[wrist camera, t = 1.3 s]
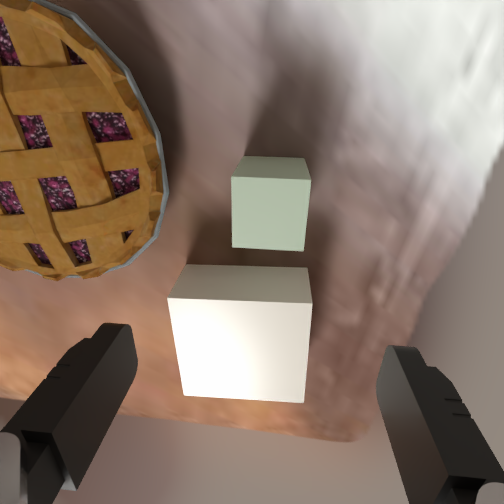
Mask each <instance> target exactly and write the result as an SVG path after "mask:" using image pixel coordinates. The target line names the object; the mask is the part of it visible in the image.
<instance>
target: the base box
mask: <svg viewBox="0 0 504 504" xmlns="http://www.w3.org/2000/svg"><path fill="white" fill-rule="evenodd" d="M167 299H168V305H169V311H170V317H171V322H172V328H173V334H174V340H175V346H176V352H177V358H178V363H179V369H180V375H181V381H182V387H183V393H184V395H188V396H203V397H219V398H234V399H250V400H265V401H281V402H297V403H304V393H305V382H306V371H307V360H308V349H309V337H310V326H311V315H312V304H313V303H312V296H311V289H310V282H309V275H308V268H300V267H265V266H230V265H195V264H186V265H185V267H184V269H183V270H182V272H181V274H180V276H179V278H178V280H177V281H176V283H175V285H174V287H173V289H172V290H171V292H170V294H169V296H168V298H167Z"/></svg>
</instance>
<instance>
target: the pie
mask: <svg viewBox="0 0 504 504" xmlns="http://www.w3.org/2000/svg"><path fill="white" fill-rule="evenodd" d="M168 195H169V187H168V180H167V174H166V167H165V161H164V154H163V148H162V141H161V134H160V132H159V130H158V127H157V125H156V123H155V121H154V119H153V117H152V115H151V113H150V111H149V109H148V107H147V105H146V103H145V101H144V99H143V97H142V95H141V92H140V90H139V88H138V86H137V84H136V82H135V80H134V78H133V76H132V74H131V72H130V70H129V68H128V67H127V66H126V65H125V64H124V63H123V62H122V61H121V60H120V59H119V58H118V57H117V56H116V55H115V54H114V53H113V52H112V51H111V49H110V48H109V47H108V46H107V45H106V44H105V43H104V42H103V41H102V40H101V39H100V38H99V37H98V36H97V35H96V34H95V33H94V32H93V31H92V30H91V28H90V27H89V26H88V25H87V24H86V23H85V22H84V21H83V20H82V19H81V18H80V17H79V16H78V15H77V14H76V13H74V12H72V11H69V10H67V9H65V8H62V7H60V6H57V5H55V4H53V3H50V2H48V1H46V0H0V266H2V267H4V268H7V269H9V270H12V271H17V270H26V271H29V272H32V273H35V274H38V275H41V276H43V278H45V279H50V280H54V281H59V280H61V279H63V278H65V277H71V278H83V279H87V278H93V277H98V276H100V275H102V274H104V273H107V272H110V271H113V270H116V269H119V268H122V267H125V266H128V265H130V264H131V263H132V262H133V261H134V260H135V259H136V258H137V257H138V256H139V255H140V254H141V253H142V252H143V251H144V250H145V249H146V248H147V247H148V246H149V245H150V244H151V243H152V242H153V241H154V240H155V239H156V238H157V237H158V235H159V231H160V227H161V223H162V219H163V215H164V211H165V207H166V203H167V199H168Z"/></svg>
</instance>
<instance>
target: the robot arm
mask: <svg viewBox="0 0 504 504" xmlns="http://www.w3.org/2000/svg"><path fill="white" fill-rule="evenodd" d="M137 366H138V359H137V354H136V349H135V344H134V338H133V333H132V329H131V326H130V325H128V324H117V323H103V324H102V325H101V326H100V327H99V328H98V330H97V331H96V332H95V334H94V335H93V336H92V338H84V339H83V340H81V341H80V342H78V343H77V344H76V345H74V346H73V347H71V348H70V349H69V350H68V351H67V352H66V353H65V354H64V356H63V357H62V358H61V359H60V360H59V362H58V363H57V366H56V367H54V368H53V369H52V370H51V371H50V373H49V374H48V375H47V378H46V379H44V380H43V381H42V382H41V383H40V385H39V386H38V387H37V388H36V389H35V391H34V392H33V393H32V394H31V395H30V397H29V398H28V399H27V400H26V402H25V403H24V404H23V405H22V406H21V408H20V409H19V410H18V411H17V412H16V414H15V415H14V416H13V417H12V419H11V420H10V421H9V422H8V423H7V425H6V426H5V427H4V428H3V429H2V430H1V431H0V504H52V503H53V501H54V500H55V498H56V496H57V494H58V492H59V490H60V489H65V490H74V491H76V490H77V489H78V487H79V485H80V483H81V481H82V479H83V477H84V475H85V473H86V471H87V469H88V468H89V465H90V464H91V462H92V460H93V458H94V456H95V454H96V452H97V450H98V448H99V446H100V444H101V442H102V440H103V438H104V436H105V435H106V433H107V431H108V429H109V427H110V425H111V423H112V421H113V419H114V417H115V415H116V413H117V411H118V409H119V407H120V405H121V403H122V401H123V400H124V398H125V396H126V394H127V392H128V390H129V388H130V386H131V384H132V382H133V380H134V378H135V375H136V371H137ZM376 394H377V400H378V404H379V407H380V410H381V413H382V417H383V420H384V423H385V427H386V430H387V433H388V436H389V440H390V443H391V446H392V449H393V452H394V456H395V459H396V462H397V465H398V469H399V472H400V475H401V478H402V482H403V485H404V488H405V491H406V495H407V498H408V501H409V504H504V471H503V469H502V468H501V466H500V464H499V462H498V461H497V459H496V457H495V456H494V454H493V452H492V450H491V449H490V447H489V445H488V444H487V442H486V440H485V438H484V437H483V435H482V433H481V431H480V430H479V428H478V426H477V425H476V423H475V421H474V420H473V419H471V414H470V413H469V411H468V409H467V407H466V406H465V404H464V403H462V399H461V397H460V396H459V394H458V392H457V390H456V389H455V387H454V385H453V384H452V382H451V381H450V380H449V379H448V378H447V377H446V376H445V375H444V374H443V373H442V372H440V371H439V370H438V369H437V368H436V367H428V366H427V365H426V363H425V361H424V359H423V358H422V356H421V354H420V352H419V351H418V349H417V348H415V347H407V346H394V345H389V346H387V348H386V350H385V354H384V357H383V361H382V364H381V367H380V371H379V374H378V378H377V382H376Z"/></svg>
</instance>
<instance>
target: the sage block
mask: <svg viewBox="0 0 504 504" xmlns="http://www.w3.org/2000/svg"><path fill="white" fill-rule="evenodd" d="M231 185H232V247H235V248H253V249H270V250H288V251H304V243H305V234H306V224H307V215H308V206H309V197H310V187H311V177H310V174H309V171H308V168H307V165H306V162H305V158H289V157H262V156H243V158H242V159H241V161H240V163H239V165H238V166H237V168H236V170H235V171H234V173H233V175H232V176H231Z"/></svg>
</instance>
